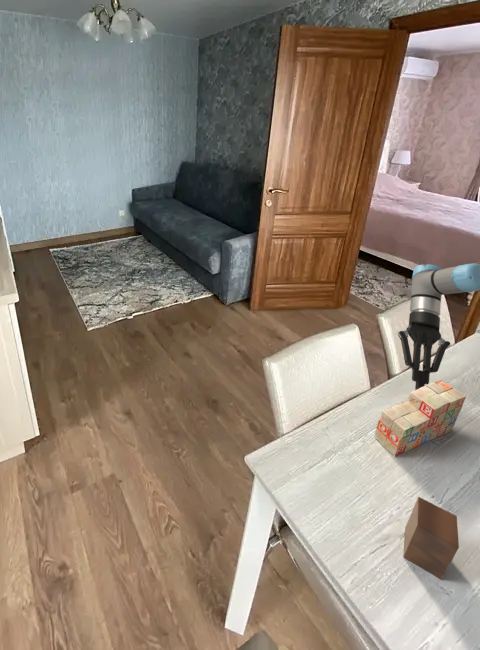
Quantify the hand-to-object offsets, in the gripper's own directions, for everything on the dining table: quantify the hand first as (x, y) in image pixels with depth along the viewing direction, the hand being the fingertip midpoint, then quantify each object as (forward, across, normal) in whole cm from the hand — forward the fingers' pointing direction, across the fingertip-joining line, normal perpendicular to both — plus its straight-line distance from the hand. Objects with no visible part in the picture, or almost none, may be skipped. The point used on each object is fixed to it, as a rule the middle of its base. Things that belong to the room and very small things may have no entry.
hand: (419, 394), depth 97 cm
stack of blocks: (+11, +2, +3) cm, 11 cm away
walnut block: (+32, +4, +25) cm, 41 cm away
